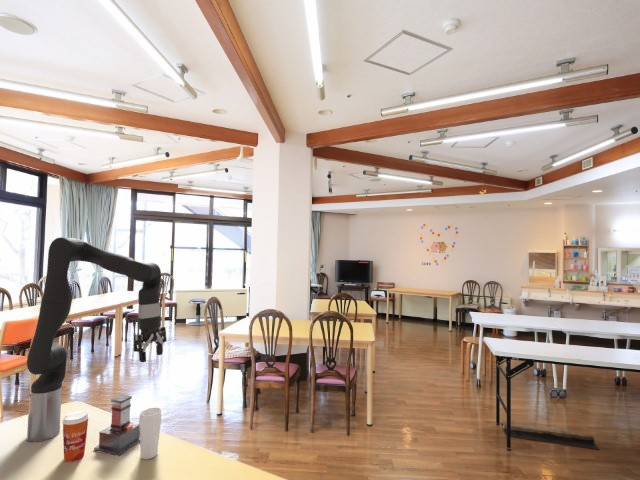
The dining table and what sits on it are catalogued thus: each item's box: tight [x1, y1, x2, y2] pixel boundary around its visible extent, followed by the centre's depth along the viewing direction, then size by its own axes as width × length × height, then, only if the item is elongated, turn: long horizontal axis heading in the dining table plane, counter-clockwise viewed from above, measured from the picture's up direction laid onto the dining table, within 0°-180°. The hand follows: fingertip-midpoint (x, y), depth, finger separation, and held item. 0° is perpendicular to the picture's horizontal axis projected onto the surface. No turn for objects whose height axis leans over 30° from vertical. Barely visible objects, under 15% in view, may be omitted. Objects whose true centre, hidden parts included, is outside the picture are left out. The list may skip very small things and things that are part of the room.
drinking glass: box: [138, 406, 162, 460], centre depth 120 cm, size 7×7×15 cm
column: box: [110, 394, 133, 433], centre depth 126 cm, size 5×5×16 cm
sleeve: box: [93, 421, 140, 457], centre depth 126 cm, size 11×11×7 cm
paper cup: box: [61, 410, 91, 463], centre depth 118 cm, size 8×8×14 cm
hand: (151, 358), depth 132 cm, fingers open, 8 cm apart
